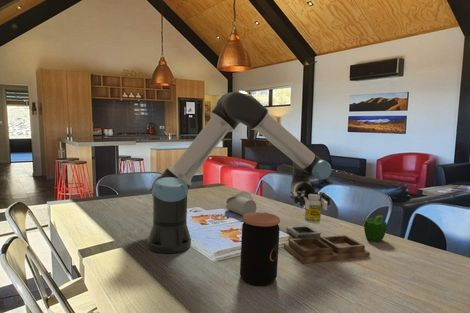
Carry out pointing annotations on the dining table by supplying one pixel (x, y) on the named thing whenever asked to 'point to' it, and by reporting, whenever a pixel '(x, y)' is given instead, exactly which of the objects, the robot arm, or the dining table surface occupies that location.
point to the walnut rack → (325, 248)
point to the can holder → (295, 233)
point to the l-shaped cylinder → (241, 203)
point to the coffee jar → (259, 248)
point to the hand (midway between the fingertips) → (317, 205)
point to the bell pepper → (375, 229)
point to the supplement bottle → (313, 209)
